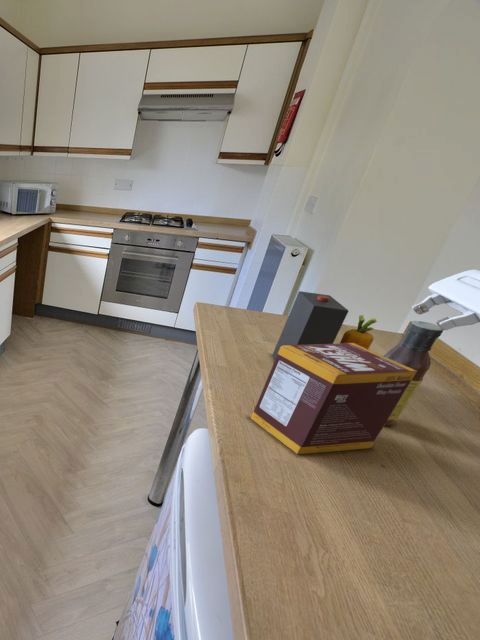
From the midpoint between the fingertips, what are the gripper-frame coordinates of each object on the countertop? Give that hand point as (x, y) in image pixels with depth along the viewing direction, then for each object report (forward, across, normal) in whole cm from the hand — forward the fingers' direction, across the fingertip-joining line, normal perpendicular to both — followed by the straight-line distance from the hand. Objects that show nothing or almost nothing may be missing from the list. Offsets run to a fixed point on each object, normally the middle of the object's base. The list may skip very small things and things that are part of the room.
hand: (426, 318), depth 85 cm
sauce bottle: (+18, +18, +5) cm, 26 cm away
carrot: (+18, +1, +5) cm, 19 cm away
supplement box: (+28, +30, -4) cm, 41 cm away
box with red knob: (+20, +1, +3) cm, 21 cm away
